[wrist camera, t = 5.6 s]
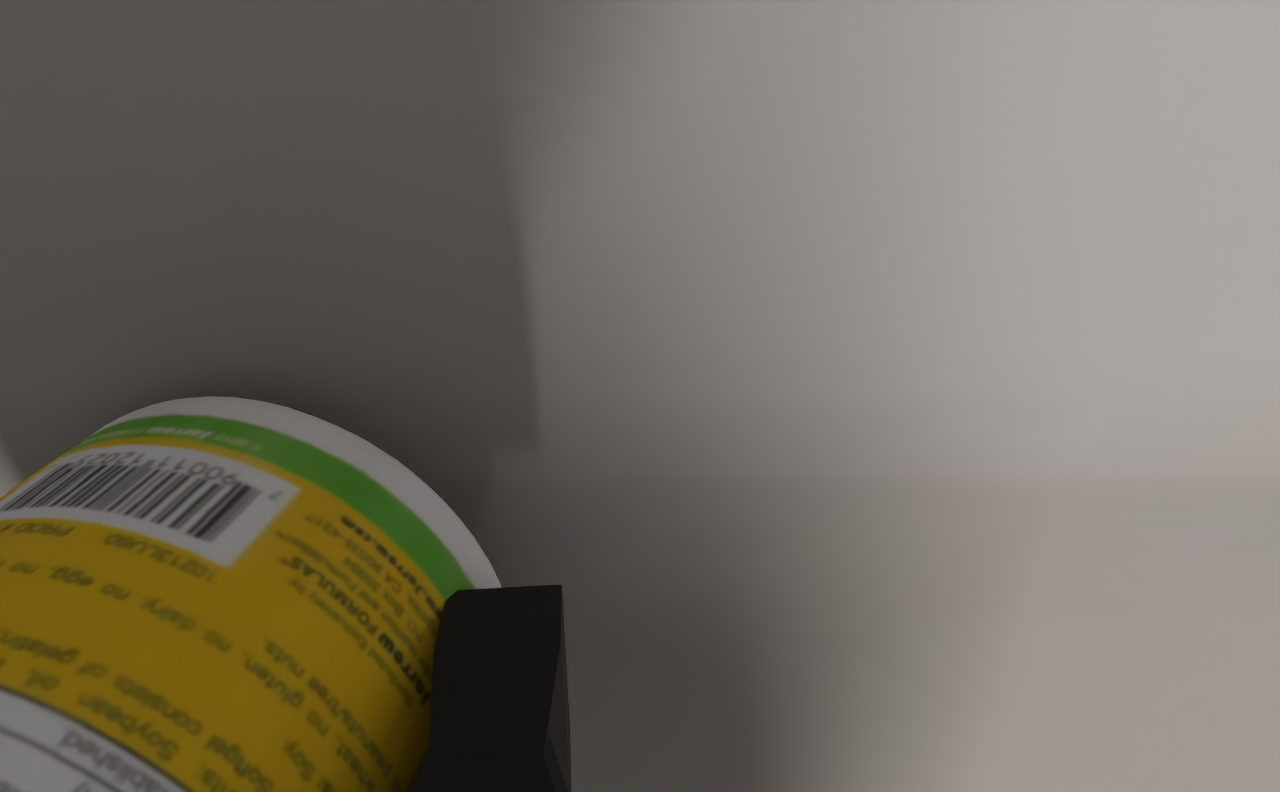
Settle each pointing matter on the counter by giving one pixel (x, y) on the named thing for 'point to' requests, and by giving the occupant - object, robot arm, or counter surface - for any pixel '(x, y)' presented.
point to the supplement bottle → (223, 607)
